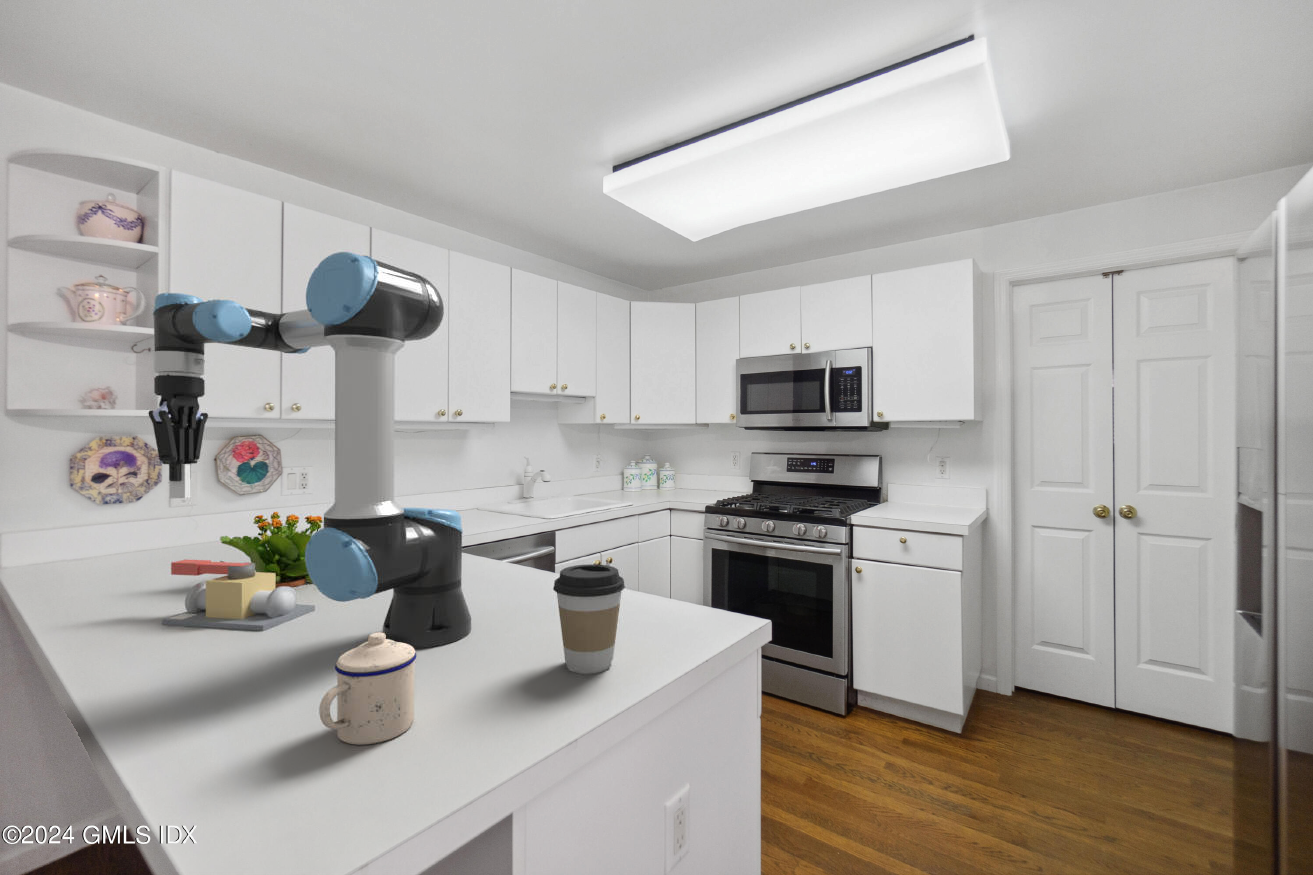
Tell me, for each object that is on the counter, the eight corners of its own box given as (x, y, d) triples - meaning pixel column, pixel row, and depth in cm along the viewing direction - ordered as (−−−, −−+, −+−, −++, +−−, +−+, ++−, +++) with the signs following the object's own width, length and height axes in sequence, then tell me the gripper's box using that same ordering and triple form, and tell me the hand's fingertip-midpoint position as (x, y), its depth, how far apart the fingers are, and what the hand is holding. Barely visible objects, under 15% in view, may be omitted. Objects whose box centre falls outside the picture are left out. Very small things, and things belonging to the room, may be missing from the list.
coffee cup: (635, 656, 96) (635, 565, 96) (607, 684, 85) (607, 582, 85) (573, 648, 100) (573, 560, 100) (539, 673, 89) (539, 575, 89)
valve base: (314, 610, 121) (314, 571, 121) (263, 630, 108) (263, 587, 108) (222, 604, 124) (222, 567, 124) (162, 624, 111) (162, 582, 111)
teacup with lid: (380, 705, 78) (380, 619, 78) (432, 718, 75) (432, 628, 75) (294, 749, 67) (294, 649, 67) (349, 767, 64) (349, 661, 64)
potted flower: (296, 600, 128) (296, 520, 128) (189, 599, 128) (189, 520, 128) (356, 573, 153) (356, 506, 153) (267, 572, 153) (267, 506, 153)
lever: (260, 574, 118) (260, 561, 118) (242, 580, 114) (242, 566, 114) (188, 571, 120) (188, 558, 120) (167, 576, 116) (167, 563, 116)
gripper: (176, 372, 106) (176, 501, 106) (222, 379, 119) (222, 494, 119) (132, 372, 106) (132, 501, 106) (182, 379, 119) (183, 494, 119)
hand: (180, 497), depth 112 cm, fingers closed
